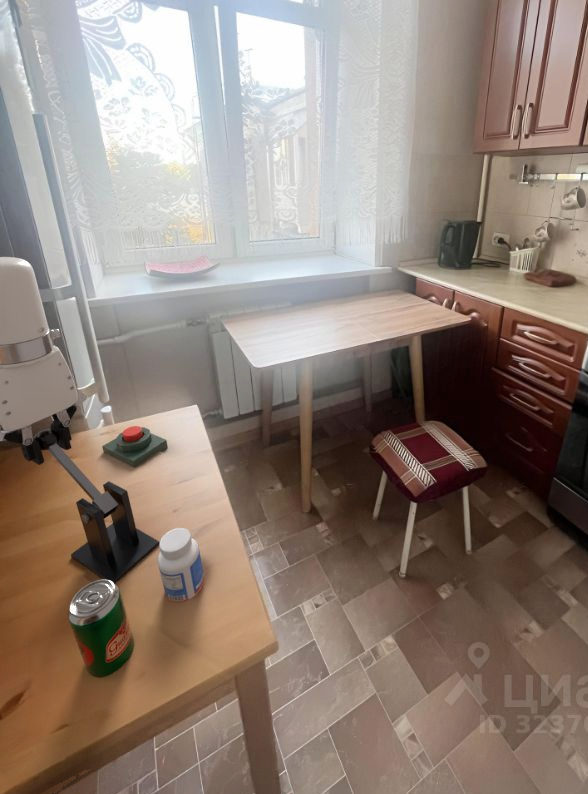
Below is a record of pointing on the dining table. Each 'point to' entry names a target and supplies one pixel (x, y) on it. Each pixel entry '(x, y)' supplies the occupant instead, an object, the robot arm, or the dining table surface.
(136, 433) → the button
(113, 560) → the bracket
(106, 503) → the lever
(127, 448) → the control block
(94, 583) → the soda can
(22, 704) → the dining table surface
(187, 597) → the pill bottle
